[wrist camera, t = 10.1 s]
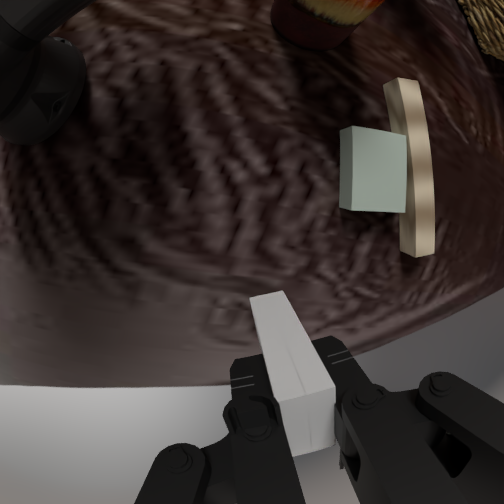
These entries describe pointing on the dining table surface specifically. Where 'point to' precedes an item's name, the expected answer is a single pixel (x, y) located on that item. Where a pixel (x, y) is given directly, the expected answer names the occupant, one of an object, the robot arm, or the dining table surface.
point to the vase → (319, 21)
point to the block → (372, 170)
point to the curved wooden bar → (413, 166)
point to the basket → (487, 24)
